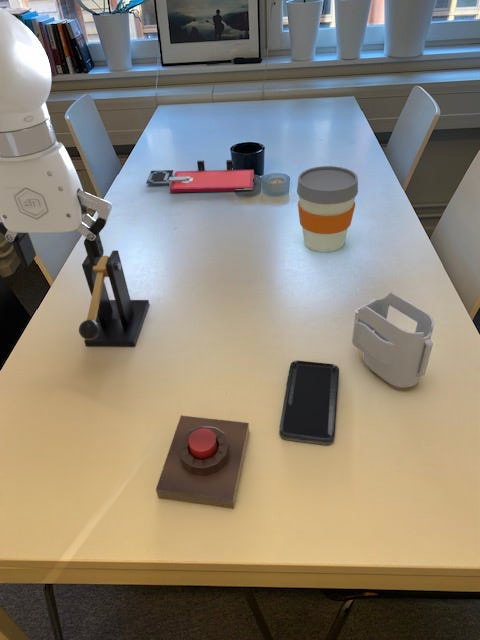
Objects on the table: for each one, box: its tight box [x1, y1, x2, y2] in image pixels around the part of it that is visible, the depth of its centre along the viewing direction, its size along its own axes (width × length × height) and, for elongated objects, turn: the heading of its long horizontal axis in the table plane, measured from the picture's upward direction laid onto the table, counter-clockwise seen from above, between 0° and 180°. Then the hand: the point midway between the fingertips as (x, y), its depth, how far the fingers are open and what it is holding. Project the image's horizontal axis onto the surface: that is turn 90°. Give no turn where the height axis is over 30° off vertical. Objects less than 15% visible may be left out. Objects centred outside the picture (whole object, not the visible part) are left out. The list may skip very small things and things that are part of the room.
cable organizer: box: [351, 291, 435, 388], centre depth 75 cm, size 7×12×12 cm, turn 35°
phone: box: [278, 360, 340, 446], centre depth 74 cm, size 8×1×15 cm
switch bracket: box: [81, 250, 150, 348], centre depth 87 cm, size 12×9×15 cm
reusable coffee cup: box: [296, 165, 359, 253], centre depth 105 cm, size 12×13×15 cm
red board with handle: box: [145, 159, 255, 193], centre depth 137 cm, size 30×3×15 cm
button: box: [189, 429, 217, 459], centre depth 64 cm, size 4×4×2 cm
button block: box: [155, 415, 250, 510], centre depth 66 cm, size 12×10×4 cm
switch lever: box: [78, 255, 110, 340], centre depth 80 cm, size 15×3×3 cm, turn 176°
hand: (63, 261), depth 68 cm, fingers open, 9 cm apart
